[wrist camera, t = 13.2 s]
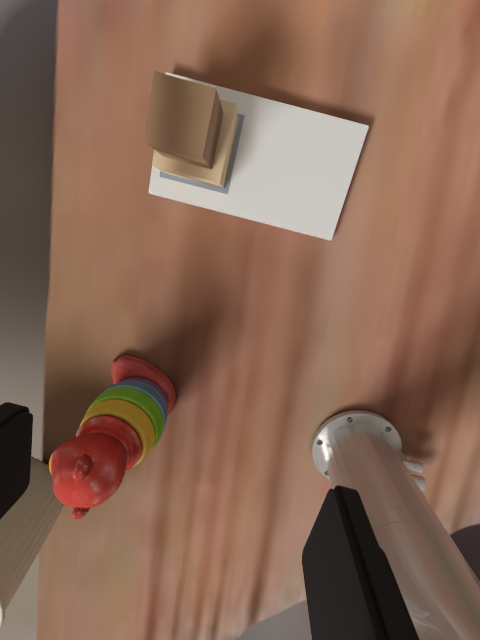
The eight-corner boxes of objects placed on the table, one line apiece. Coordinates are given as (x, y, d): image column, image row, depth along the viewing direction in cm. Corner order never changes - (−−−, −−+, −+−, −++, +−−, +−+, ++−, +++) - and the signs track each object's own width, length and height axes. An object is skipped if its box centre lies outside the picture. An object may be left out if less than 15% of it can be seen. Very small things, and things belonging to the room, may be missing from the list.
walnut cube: (223, 113, 28) (216, 88, 23) (211, 169, 29) (202, 157, 25) (172, 99, 28) (154, 71, 23) (163, 156, 29) (144, 141, 24)
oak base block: (238, 119, 31) (236, 103, 28) (224, 188, 33) (219, 182, 30) (175, 102, 31) (163, 84, 28) (164, 173, 33) (152, 165, 30)
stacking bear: (115, 350, 42) (16, 431, 24) (184, 370, 42) (133, 464, 25) (105, 413, 45) (9, 525, 28) (169, 431, 45) (114, 553, 28)
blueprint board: (365, 129, 32) (369, 125, 31) (329, 240, 36) (331, 240, 34) (169, 77, 32) (165, 71, 31) (152, 194, 35) (148, 192, 34)
